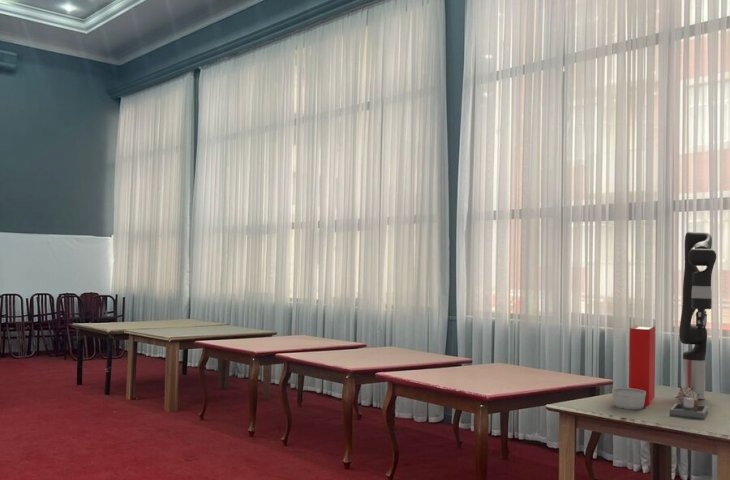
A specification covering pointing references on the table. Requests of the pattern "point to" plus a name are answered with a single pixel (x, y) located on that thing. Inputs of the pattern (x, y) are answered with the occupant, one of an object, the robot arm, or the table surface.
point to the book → (642, 361)
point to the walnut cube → (695, 404)
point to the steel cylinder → (688, 404)
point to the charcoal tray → (688, 412)
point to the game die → (686, 393)
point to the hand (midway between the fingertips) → (701, 336)
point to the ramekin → (628, 398)
